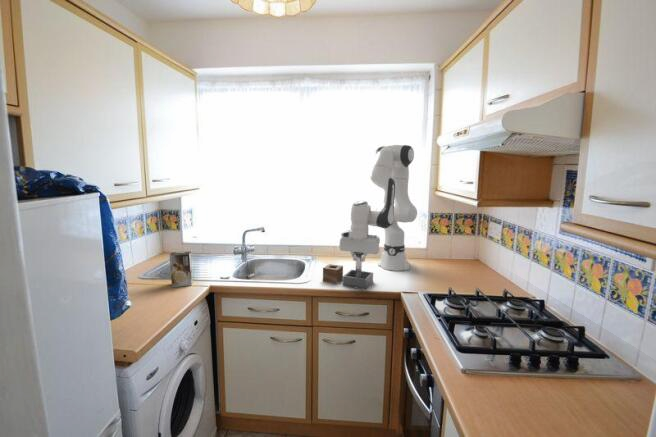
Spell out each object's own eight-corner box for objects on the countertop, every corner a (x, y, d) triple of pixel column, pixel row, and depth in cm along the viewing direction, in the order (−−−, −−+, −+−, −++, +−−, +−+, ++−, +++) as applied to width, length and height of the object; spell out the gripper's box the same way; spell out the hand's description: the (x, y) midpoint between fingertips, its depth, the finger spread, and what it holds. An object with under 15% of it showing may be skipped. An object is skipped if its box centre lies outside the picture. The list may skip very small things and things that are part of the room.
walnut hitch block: (329, 276, 170) (329, 264, 169) (342, 278, 167) (343, 265, 166) (322, 280, 163) (323, 268, 162) (337, 283, 160) (337, 270, 159)
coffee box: (193, 281, 161) (191, 251, 158) (191, 285, 155) (189, 254, 152) (173, 283, 158) (171, 252, 156) (171, 287, 152) (169, 255, 150)
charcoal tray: (351, 278, 167) (351, 269, 167) (372, 281, 162) (373, 272, 162) (342, 285, 156) (343, 276, 156) (365, 289, 152) (366, 279, 151)
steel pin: (355, 277, 162) (356, 250, 160) (364, 278, 160) (364, 251, 158) (352, 279, 158) (353, 252, 156) (361, 281, 156) (361, 253, 154)
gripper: (381, 234, 154) (380, 261, 156) (342, 231, 163) (342, 257, 165) (378, 236, 149) (377, 265, 151) (338, 233, 157) (337, 259, 159)
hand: (358, 260), depth 158 cm, fingers closed on steel pin, 3 cm apart
